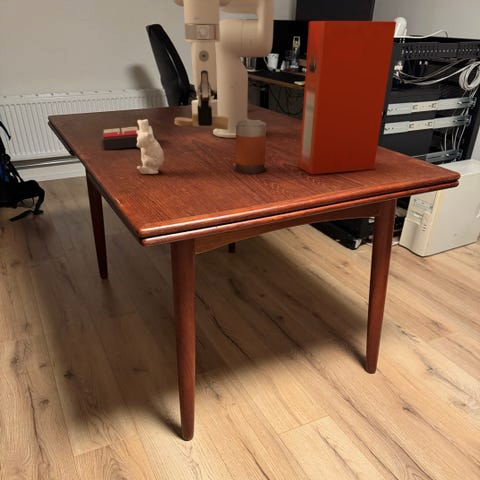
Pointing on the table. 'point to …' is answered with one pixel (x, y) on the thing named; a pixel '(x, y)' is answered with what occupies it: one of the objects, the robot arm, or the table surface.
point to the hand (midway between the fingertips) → (204, 123)
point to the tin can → (250, 146)
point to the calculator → (121, 137)
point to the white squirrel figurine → (148, 149)
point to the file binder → (344, 94)
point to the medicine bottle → (213, 105)
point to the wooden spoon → (217, 123)
